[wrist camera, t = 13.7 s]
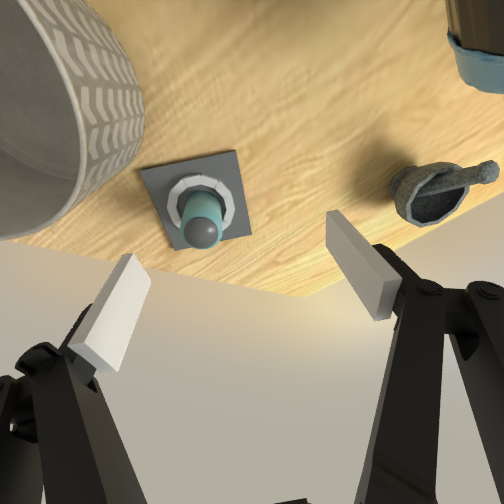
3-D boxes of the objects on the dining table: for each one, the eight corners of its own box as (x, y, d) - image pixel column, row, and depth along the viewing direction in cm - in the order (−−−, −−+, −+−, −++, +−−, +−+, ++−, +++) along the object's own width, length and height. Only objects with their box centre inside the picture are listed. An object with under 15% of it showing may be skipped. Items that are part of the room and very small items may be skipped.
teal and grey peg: (181, 194, 34) (172, 219, 27) (216, 187, 35) (217, 210, 28) (191, 225, 38) (186, 255, 31) (224, 219, 38) (226, 247, 31)
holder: (140, 169, 33) (137, 173, 31) (235, 150, 33) (236, 152, 31) (175, 248, 41) (173, 254, 39) (251, 232, 41) (252, 237, 39)
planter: (180, 87, 28) (140, 75, 13) (111, 201, 34) (33, 279, 20) (-18, -99, 19) (-820, -773, 4) (-59, 101, 26) (-430, 107, 11)
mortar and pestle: (414, 211, 43) (472, 245, 33) (370, 209, 41) (419, 243, 32) (449, 148, 37) (534, 166, 27) (399, 142, 35) (471, 158, 25)
